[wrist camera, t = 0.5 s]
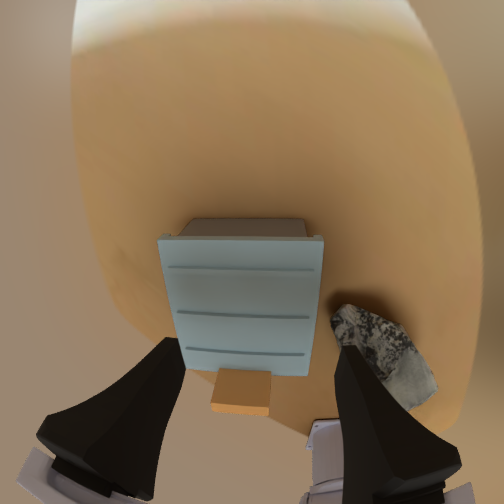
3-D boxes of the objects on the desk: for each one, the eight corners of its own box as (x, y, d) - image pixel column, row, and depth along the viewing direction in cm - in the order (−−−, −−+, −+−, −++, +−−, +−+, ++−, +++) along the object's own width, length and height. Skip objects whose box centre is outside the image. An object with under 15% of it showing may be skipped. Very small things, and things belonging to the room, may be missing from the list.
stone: (330, 440, 15) (452, 418, 14) (336, 300, 18) (458, 292, 16) (318, 404, 24) (408, 395, 23) (321, 309, 27) (411, 304, 25)
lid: (306, 372, 21) (307, 416, 17) (190, 365, 22) (176, 405, 18) (321, 234, 16) (334, 271, 12) (163, 233, 17) (130, 266, 13)
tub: (296, 328, 24) (297, 361, 20) (207, 325, 24) (196, 356, 21) (303, 218, 19) (308, 240, 16) (193, 218, 20) (174, 239, 17)
